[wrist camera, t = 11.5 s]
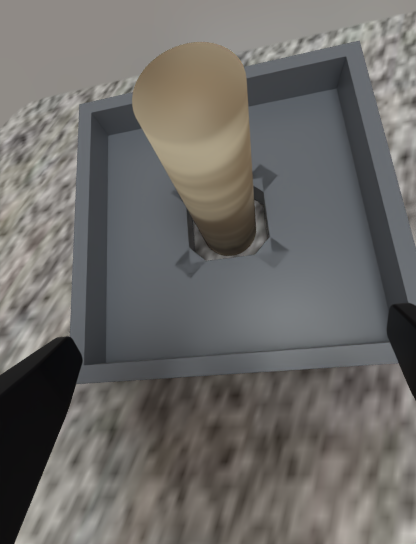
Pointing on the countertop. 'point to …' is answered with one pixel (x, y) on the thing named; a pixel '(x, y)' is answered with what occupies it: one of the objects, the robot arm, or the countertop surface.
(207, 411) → the countertop surface
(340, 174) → the charcoal box
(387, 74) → the countertop surface
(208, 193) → the birch peg
